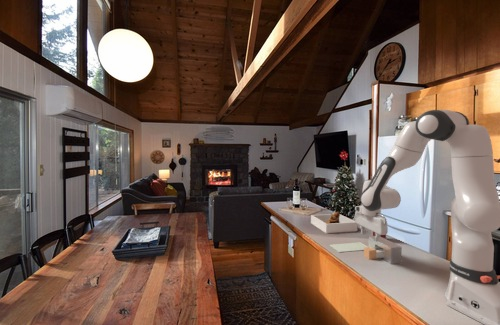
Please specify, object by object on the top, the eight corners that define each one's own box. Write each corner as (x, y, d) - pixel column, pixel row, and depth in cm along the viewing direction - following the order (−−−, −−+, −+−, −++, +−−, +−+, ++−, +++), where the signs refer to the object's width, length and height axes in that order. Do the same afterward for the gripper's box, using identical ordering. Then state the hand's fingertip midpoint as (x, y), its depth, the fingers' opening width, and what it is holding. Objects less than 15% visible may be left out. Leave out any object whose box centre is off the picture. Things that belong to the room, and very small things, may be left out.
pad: (372, 249, 137) (372, 248, 137) (339, 252, 133) (339, 251, 133) (360, 242, 147) (360, 242, 147) (329, 245, 143) (329, 244, 143)
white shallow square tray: (357, 231, 168) (357, 222, 168) (326, 233, 163) (326, 224, 163) (338, 221, 190) (338, 213, 190) (310, 223, 186) (311, 215, 186)
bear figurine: (321, 225, 182) (322, 208, 182) (343, 227, 178) (343, 210, 177) (321, 230, 169) (321, 213, 169) (344, 233, 165) (345, 215, 164)
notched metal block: (401, 262, 121) (401, 246, 120) (390, 263, 120) (391, 247, 119) (378, 249, 136) (378, 235, 136) (368, 250, 135) (368, 236, 135)
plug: (398, 256, 128) (398, 248, 128) (368, 259, 125) (369, 250, 124) (392, 253, 132) (392, 245, 132) (363, 256, 129) (364, 247, 128)
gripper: (392, 216, 116) (390, 245, 117) (363, 205, 136) (362, 230, 137) (380, 216, 114) (378, 245, 115) (353, 206, 134) (351, 231, 135)
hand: (369, 237), depth 126 cm, fingers open, 8 cm apart
